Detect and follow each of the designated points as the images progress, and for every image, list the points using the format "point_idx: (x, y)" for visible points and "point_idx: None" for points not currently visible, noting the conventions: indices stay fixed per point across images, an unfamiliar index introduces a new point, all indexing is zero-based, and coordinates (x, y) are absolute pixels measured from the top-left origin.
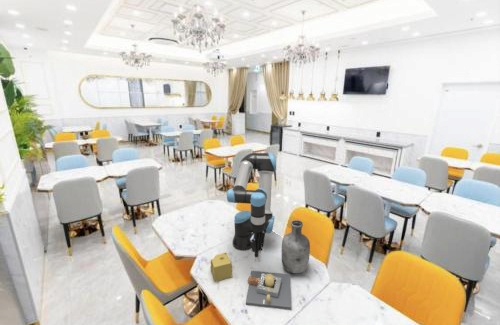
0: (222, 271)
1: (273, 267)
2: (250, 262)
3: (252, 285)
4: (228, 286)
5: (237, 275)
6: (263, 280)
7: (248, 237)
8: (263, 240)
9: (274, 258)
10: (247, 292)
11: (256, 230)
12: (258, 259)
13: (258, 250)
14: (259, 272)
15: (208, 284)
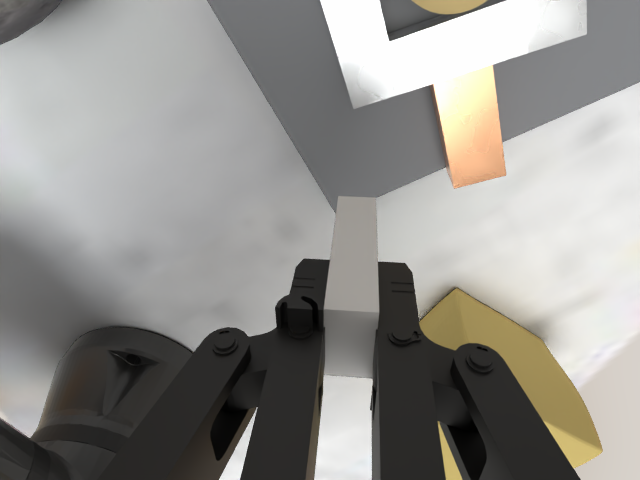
0: (527, 370)
1: (157, 83)
2: (250, 264)
3: None
4: (547, 259)
5: (419, 266)
6: (441, 33)
7: (102, 418)
8: (139, 475)
9: (64, 138)
10: (590, 103)
11: None
12: (376, 227)
13: (393, 348)
14: (313, 149)
15: (579, 354)
